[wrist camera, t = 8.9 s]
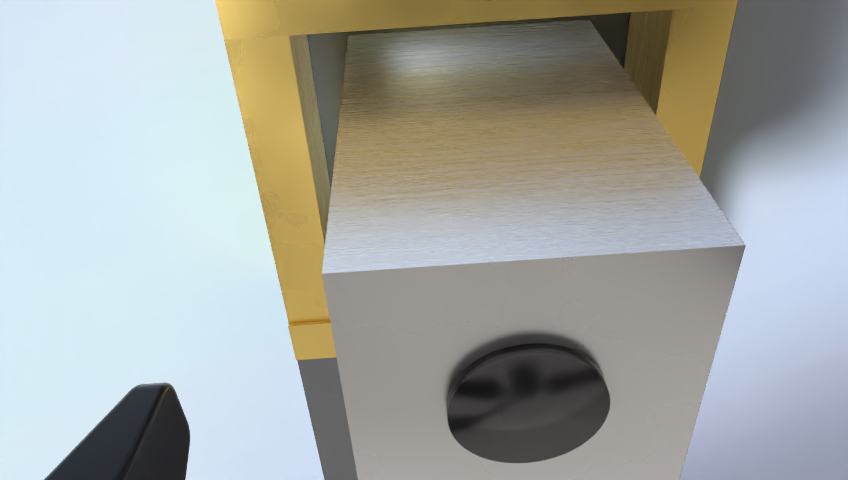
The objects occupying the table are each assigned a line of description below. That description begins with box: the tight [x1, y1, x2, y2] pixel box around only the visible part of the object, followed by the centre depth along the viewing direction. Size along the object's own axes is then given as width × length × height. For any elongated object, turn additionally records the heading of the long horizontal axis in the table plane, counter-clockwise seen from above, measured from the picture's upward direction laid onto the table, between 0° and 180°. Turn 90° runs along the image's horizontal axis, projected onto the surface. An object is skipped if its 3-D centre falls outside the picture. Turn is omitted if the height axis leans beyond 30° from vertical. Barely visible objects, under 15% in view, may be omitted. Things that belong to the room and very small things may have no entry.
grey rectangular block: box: [322, 20, 746, 480], centre depth 11 cm, size 4×4×7 cm
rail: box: [215, 0, 738, 480], centre depth 18 cm, size 24×8×2 cm, turn 3°
